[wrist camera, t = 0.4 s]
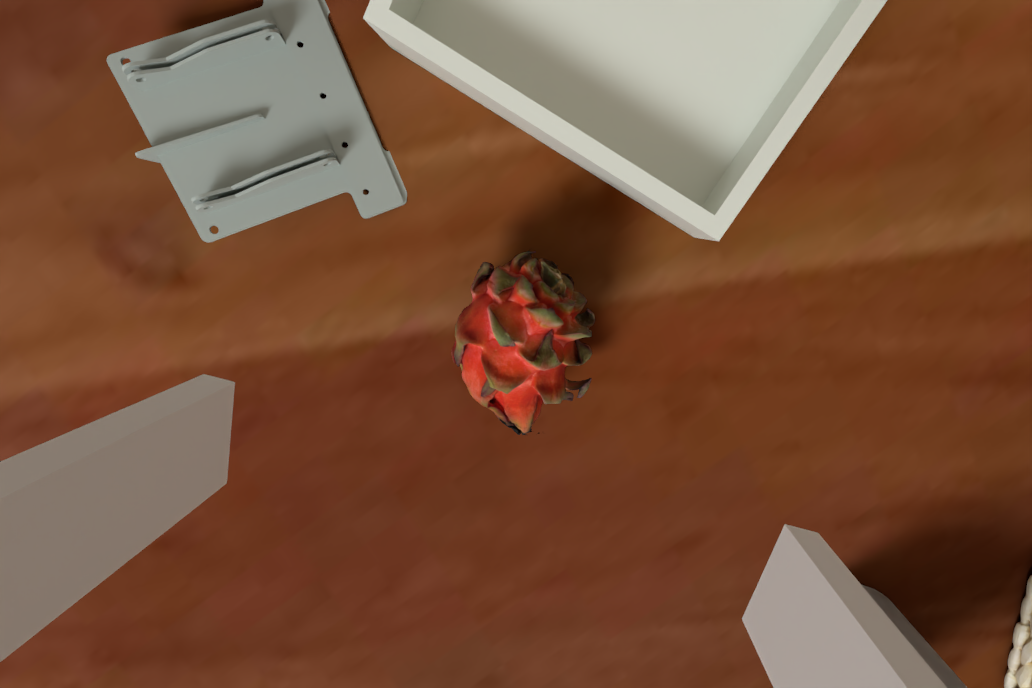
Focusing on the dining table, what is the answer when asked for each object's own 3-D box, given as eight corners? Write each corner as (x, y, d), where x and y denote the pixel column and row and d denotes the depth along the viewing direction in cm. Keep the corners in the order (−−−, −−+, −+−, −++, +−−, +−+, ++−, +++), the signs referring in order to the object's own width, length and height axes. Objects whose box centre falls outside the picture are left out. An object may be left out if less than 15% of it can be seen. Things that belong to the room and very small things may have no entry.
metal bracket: (193, 280, 28) (43, 6, 24) (232, 278, 33) (114, 55, 30) (424, 192, 29) (313, -75, 26) (423, 204, 35) (331, -14, 32)
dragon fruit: (546, 231, 32) (530, 384, 37) (429, 235, 28) (428, 408, 33) (635, 263, 26) (601, 443, 31) (500, 275, 22) (486, 482, 26)
